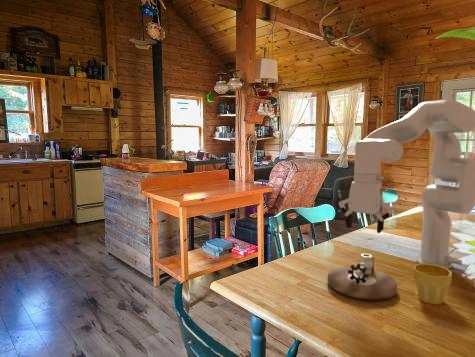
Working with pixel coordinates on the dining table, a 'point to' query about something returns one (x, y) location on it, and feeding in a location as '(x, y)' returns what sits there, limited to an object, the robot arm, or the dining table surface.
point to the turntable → (363, 284)
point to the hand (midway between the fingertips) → (364, 229)
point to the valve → (362, 268)
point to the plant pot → (432, 282)
